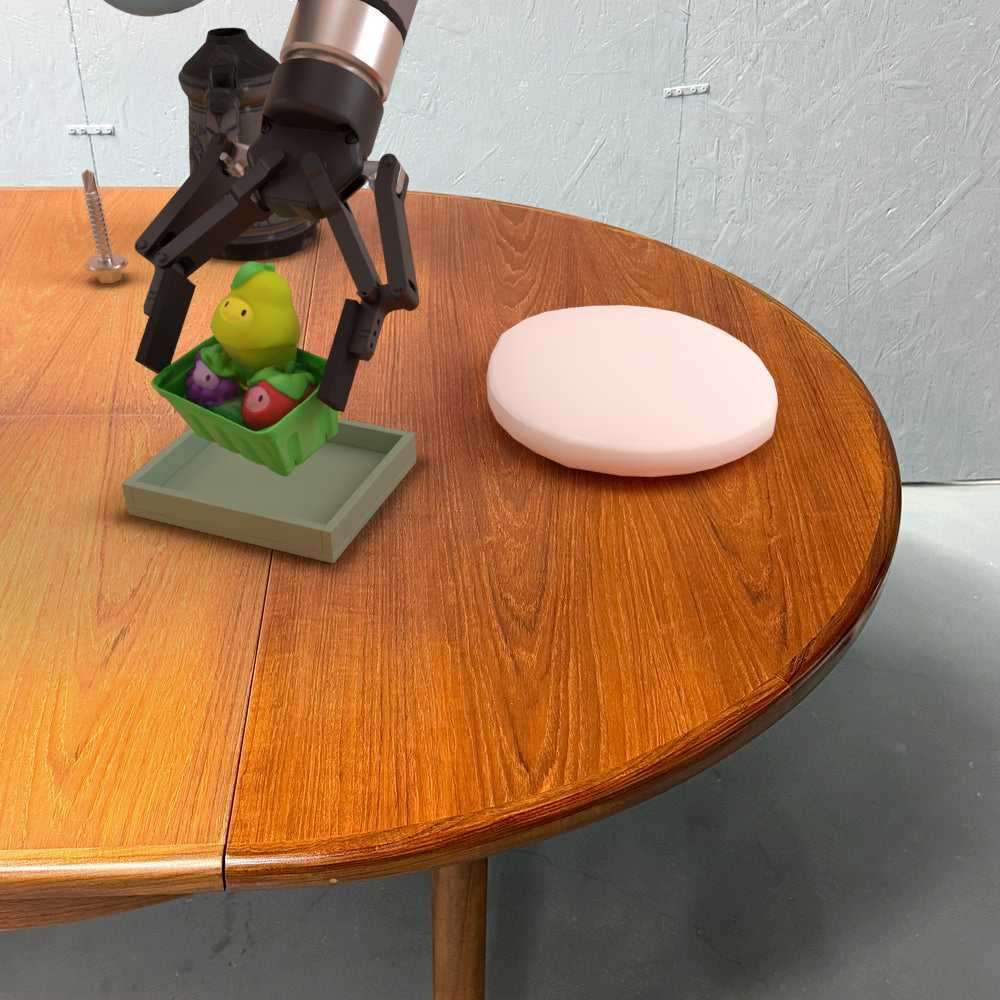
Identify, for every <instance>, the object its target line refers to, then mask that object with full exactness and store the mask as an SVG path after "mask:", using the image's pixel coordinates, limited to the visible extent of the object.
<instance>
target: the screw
mask: <svg viewBox="0 0 1000 1000" xmlns="http://www.w3.org/2000/svg"><path fill="white" fill-rule="evenodd" d="M81 177H82V184H83V188H84V191H85V192H84V193H83V195H85V198H84V201H85V202H86V203H85V205H84V206H86V207H87V208H86V211H87V212H88V213H87V216H89V219H88V221H90V224H89V226H91V229H90V231H92V234H91V235H92V236H93V239H92V240H93V241H94V244H93V246H95V249H94V251H96V254H95V255H94V256H91V257H90V258H88V259H87V260H86V262H85V263H84V268H85V270H86V271H88V272H89V273H94V274H95V275H96V278H97V280H98V281H99V283H100V284H115V283H117V282H119V281H121V280H122V279H123V278H122V273H121V271H122V270H123V269H125V268H127V267H128V266H129V259H128V258H127V257H126V256H124V255H122V254H119V253H113V248H111V247H112V244H111V239H110V238H109V237H110V234H109V233H108V232H109V229H108V228H107V227H108V224H107V219H106V218H105V217H106V214H105V213H104V212H105V209H104V208H103V207H104V204H103V203H102V202H103V199H102V198H101V196H102V195H101V194H100V193H99V190H98V187H97V182H96V177H95V172H94V171H91V170H89V169H86V170H84V171H83V172H81Z"/></svg>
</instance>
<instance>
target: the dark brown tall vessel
mask: <svg viewBox="0 0 1000 1000" xmlns="http://www.w3.org/2000/svg"><path fill="white" fill-rule="evenodd" d="M280 64H281V63H280V61H278V60H277V59H276V58H275V57H274V56H273V55H271V54H270V53H269V52H268V51H266V50H264V49H263V48H262V47H260V46H258V44H256V43H255V42H254V41H253V40H252V39H251V38H250V36H249V34H248V32H247V29H244V28H242V27H219V28H213V29H210V30H208V31H207V34H206V38H205V42H204V43H203V44H202V45H201V46H200V47H199V48H198V49H197V51H196V52H194V54H193V55H192V56H191V57H190V58H189V59H188V60H186V62H185V63H184V64H183V66H182V68H181V69H180V71H179V73H178V76H177V78H178V83H179V86H180V87H181V91H182V92H183V93H184V94H185V95H186V97H187V103H188V159H189V161H188V162H189V176H190V175H191V174H192V172H193V171H194V170H195V169H196V167H197V166H198V165H199V164H200V163H201V161H202V160H203V157H204V155H205V152H206V150H207V148H208V145H209V143H210V141H211V138H212V137H213V135H214V134H216V133H218V132H223V133H225V134H226V135H227V136H228V137H229V139H230V140H231V141H233V142H238V143H242V144H246V145H251V144H252V143H253V142H254V141H255V140H256V138H257V137H258V135H259V134H260V131H261V126H262V111H263V106H264V103H265V100H266V97H267V94H268V91H269V88H270V85H271V82H272V78H273V75H274V72H275V70H276V68H277V66H278V65H280ZM249 170H250V168H249V166H247V167H245V168H244V169H243V171H244V174H245V173H246V172H248V171H249ZM239 178H240V177H236V179H235V181H237V180H238V179H239ZM235 181H234V182H235ZM229 192H230V189H229V190H228V192H227V193H226V194H225V195H224V197H225V196H227V195H228V194H229ZM251 196H252V198H253V199H254V200H260V197H259V195H258V192H257V191H255V192H254V193H253V194H252V195H251ZM224 197H223V198H224ZM223 198H222V199H223ZM222 199H221V200H222ZM316 234H317V222H310V221H308V220H305V219H303V218H301V217H295V218H283V217H278V216H277V215H276V214H275V213H274V214H272V215H271V216H270V217H269V218H267V219H266V220H265V221H263V222H255V223H254V224H253V225H251V226H250V227H249V228H248V229H246V230H245V231H244V232H243V233H242V234H240V235H239V236H238V237H237V238H235V239H234V240H233V241H232V242H231V243H229V244H228V245H227V246H226V247H224V248H223V249H222V250H221V251H220V252H218V253H217V254H216V255H215V256H213V257H212V258H213V259H216V260H228V261H229V260H230V261H238V262H239V261H240V262H251V261H264V260H270V259H277V258H280V257H281V258H282V257H287V256H290V255H292V254H294V253H297V252H299V251H302V250H304V249H306V248H307V247H309V246H310V245H311V244H313V243H314V241H315V239H316V236H317V235H316Z"/></svg>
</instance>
